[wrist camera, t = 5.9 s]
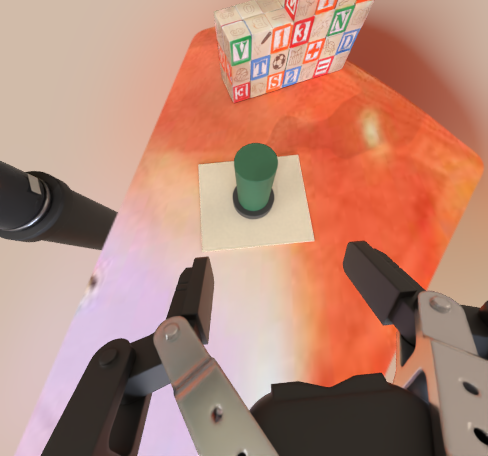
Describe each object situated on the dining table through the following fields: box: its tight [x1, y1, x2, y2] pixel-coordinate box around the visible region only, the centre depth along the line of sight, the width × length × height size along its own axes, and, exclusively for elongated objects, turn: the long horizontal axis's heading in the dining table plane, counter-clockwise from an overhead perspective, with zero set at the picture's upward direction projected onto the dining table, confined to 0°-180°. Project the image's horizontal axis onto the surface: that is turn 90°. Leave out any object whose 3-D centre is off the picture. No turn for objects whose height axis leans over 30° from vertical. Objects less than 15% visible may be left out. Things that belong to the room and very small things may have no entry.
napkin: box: [198, 155, 315, 252], centre depth 29 cm, size 16×14×1 cm
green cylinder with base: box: [233, 143, 278, 219], centre depth 24 cm, size 6×6×10 cm
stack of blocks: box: [214, 0, 374, 103], centre depth 28 cm, size 21×6×12 cm, turn 111°
